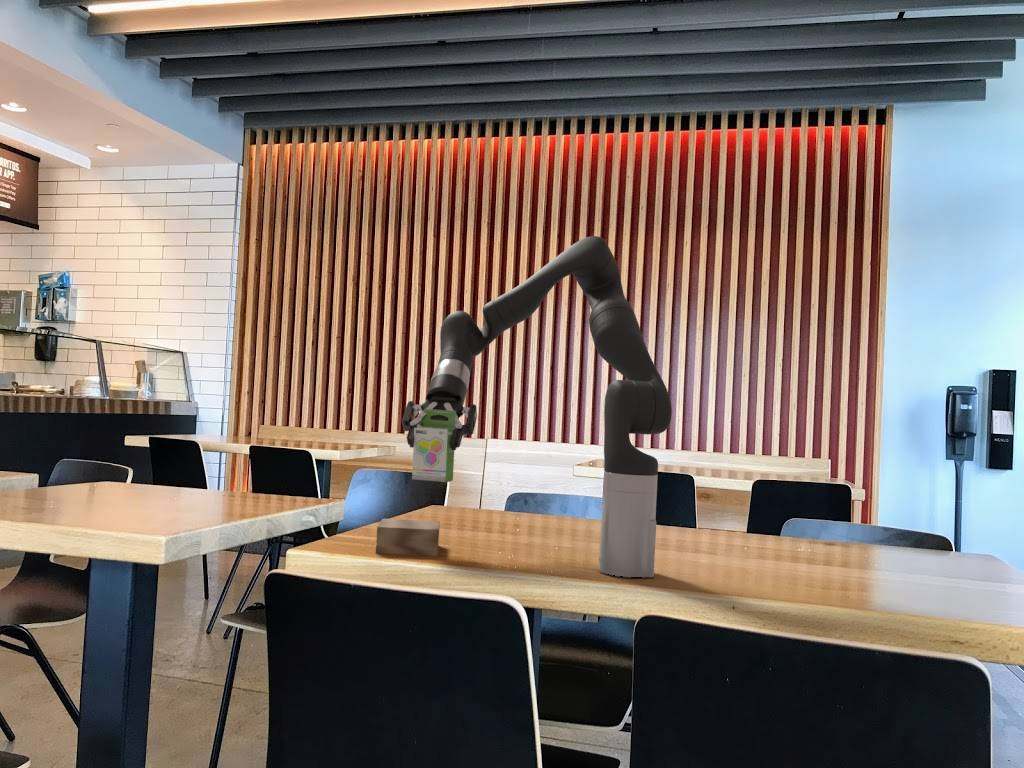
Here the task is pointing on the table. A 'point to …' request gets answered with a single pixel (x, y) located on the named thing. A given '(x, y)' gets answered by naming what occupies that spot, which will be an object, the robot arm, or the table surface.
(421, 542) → the walnut block
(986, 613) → the table surface
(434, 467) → the ink box
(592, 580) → the table surface
